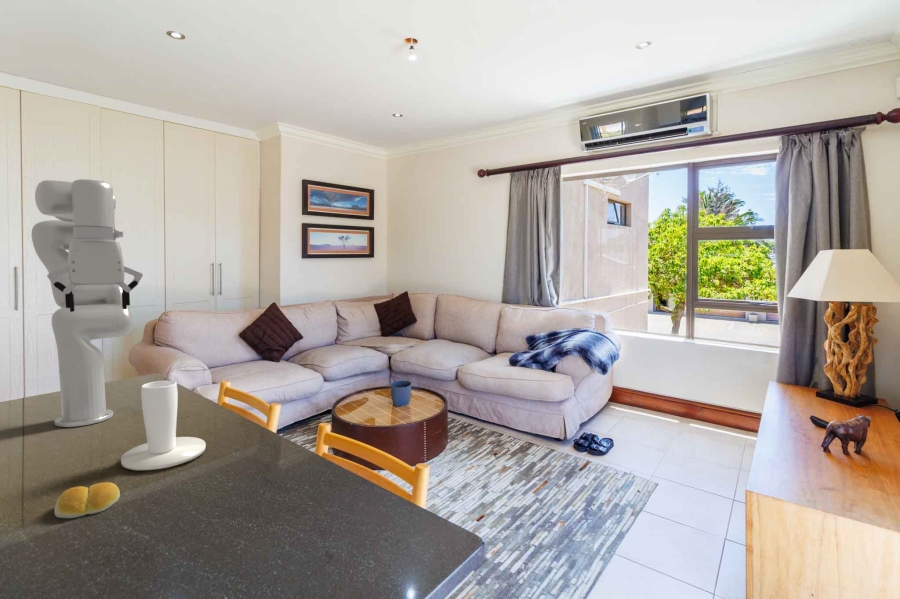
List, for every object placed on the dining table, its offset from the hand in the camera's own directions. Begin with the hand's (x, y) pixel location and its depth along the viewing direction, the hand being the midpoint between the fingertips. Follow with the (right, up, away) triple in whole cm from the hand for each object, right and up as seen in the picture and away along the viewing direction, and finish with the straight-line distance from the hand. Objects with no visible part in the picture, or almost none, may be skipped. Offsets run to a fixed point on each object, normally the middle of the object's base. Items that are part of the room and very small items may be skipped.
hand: (99, 310), depth 106 cm
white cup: (+17, -31, -4) cm, 36 cm away
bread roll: (+17, -35, -25) cm, 46 cm away
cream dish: (+18, -33, -4) cm, 37 cm away
